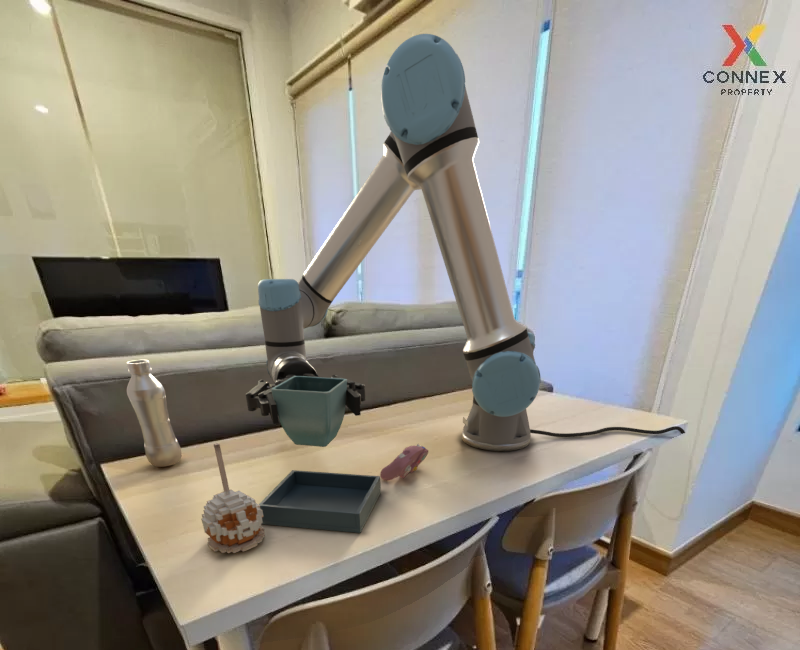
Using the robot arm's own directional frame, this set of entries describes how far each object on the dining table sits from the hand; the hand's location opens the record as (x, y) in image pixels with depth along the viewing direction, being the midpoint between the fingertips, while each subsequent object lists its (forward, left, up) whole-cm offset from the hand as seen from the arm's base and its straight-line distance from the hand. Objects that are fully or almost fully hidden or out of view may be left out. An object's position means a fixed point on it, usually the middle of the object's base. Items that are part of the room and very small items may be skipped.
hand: (317, 410), depth 66 cm
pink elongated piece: (-10, -18, -17) cm, 27 cm away
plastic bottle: (+39, -15, -17) cm, 46 cm away
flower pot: (+2, -3, -6) cm, 7 cm away
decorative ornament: (+11, +10, -17) cm, 23 cm away
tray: (+1, -2, -17) cm, 17 cm away
